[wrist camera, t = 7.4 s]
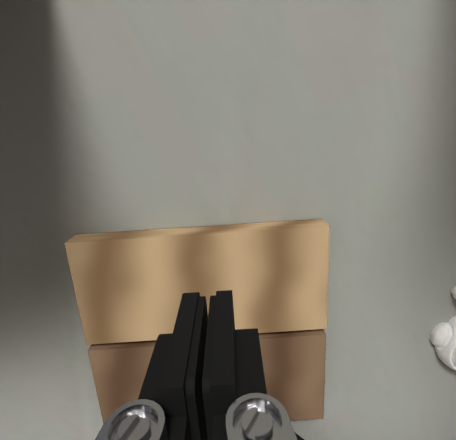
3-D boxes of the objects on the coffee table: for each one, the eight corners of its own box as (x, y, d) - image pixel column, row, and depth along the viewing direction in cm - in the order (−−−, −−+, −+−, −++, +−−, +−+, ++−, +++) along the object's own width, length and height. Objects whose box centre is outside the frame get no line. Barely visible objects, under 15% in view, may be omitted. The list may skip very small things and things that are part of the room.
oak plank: (321, 218, 26) (329, 226, 24) (319, 315, 28) (326, 328, 27) (75, 234, 26) (64, 243, 24) (95, 329, 28) (86, 344, 26)
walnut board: (319, 321, 29) (326, 334, 27) (316, 400, 31) (323, 418, 29) (96, 335, 28) (87, 350, 27) (112, 414, 31) (105, 433, 29)
